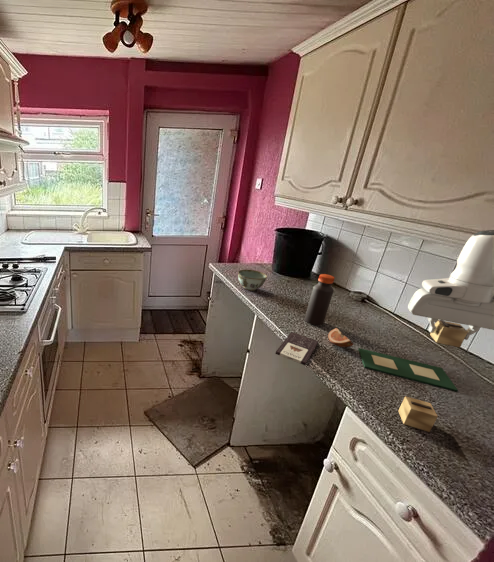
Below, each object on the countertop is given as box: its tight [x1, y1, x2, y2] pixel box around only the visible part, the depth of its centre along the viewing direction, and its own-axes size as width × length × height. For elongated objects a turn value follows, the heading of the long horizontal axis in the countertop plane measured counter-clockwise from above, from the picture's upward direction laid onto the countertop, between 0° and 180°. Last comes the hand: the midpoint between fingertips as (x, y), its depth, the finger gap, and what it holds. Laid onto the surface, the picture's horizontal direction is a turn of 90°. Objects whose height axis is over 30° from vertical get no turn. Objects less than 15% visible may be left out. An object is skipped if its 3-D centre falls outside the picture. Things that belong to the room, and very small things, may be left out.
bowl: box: [237, 269, 268, 292], centre depth 157 cm, size 14×14×8 cm
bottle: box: [304, 273, 335, 327], centre depth 123 cm, size 7×7×20 cm
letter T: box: [429, 319, 468, 348], centre depth 87 cm, size 5×5×5 cm
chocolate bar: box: [274, 331, 319, 366], centre depth 108 cm, size 9×1×18 cm
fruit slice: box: [327, 327, 354, 348], centre depth 110 cm, size 8×7×5 cm
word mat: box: [357, 347, 459, 392], centre depth 99 cm, size 22×12×1 cm, turn 62°
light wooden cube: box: [397, 396, 439, 433], centre depth 78 cm, size 5×5×5 cm
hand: (446, 335), depth 88 cm, fingers closed on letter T, 5 cm apart
